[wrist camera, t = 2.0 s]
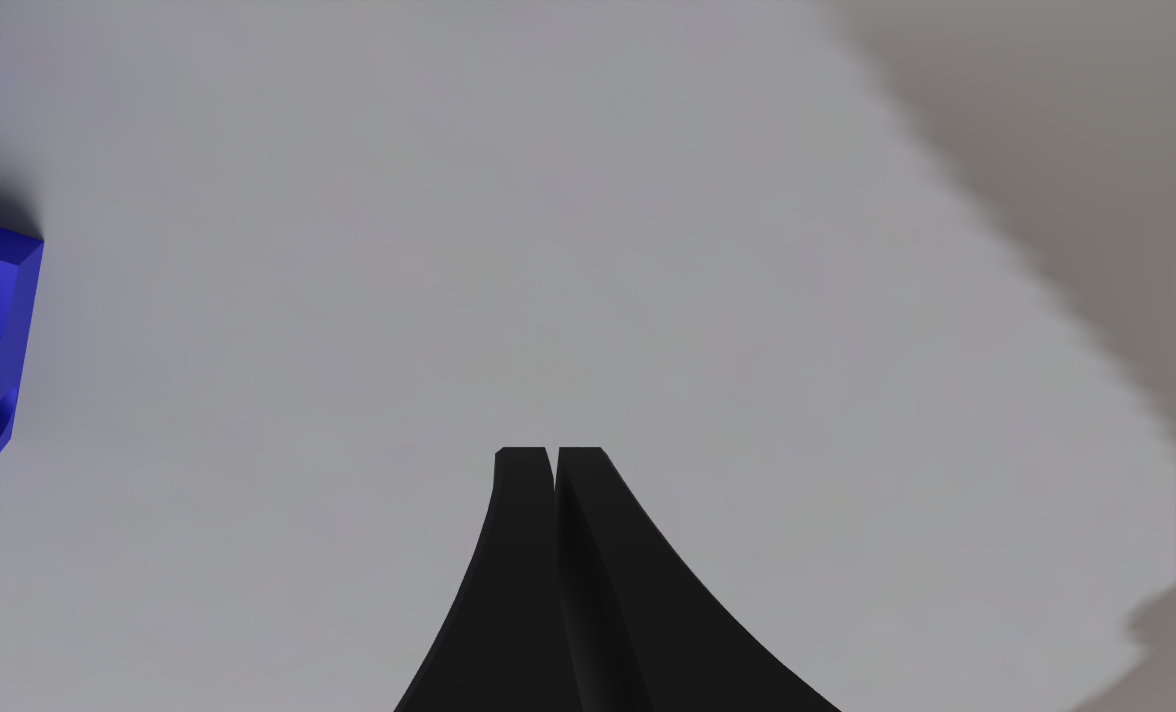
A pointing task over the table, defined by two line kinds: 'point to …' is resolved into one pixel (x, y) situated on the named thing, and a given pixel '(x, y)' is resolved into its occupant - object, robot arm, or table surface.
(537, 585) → the robot arm
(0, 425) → the cable clip
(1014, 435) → the table surface
